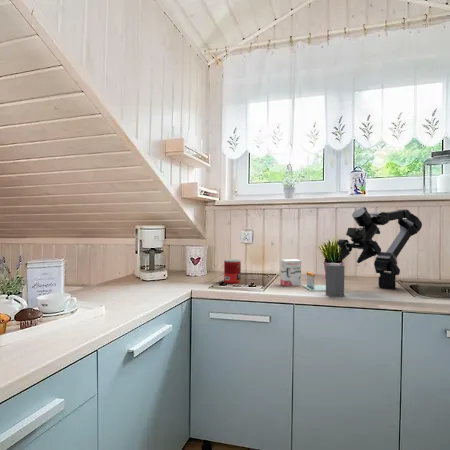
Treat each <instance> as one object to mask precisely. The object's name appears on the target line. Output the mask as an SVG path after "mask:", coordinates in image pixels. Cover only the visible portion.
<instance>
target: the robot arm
mask: <svg viewBox="0 0 450 450" xmlns="http://www.w3.org/2000/svg"><path fill="white" fill-rule="evenodd" d="M351 216H352V218H353V220H354V221H355V222H356V224H357V225H358V227H348V228H347V231H346V233H345V235H346V236H348V237H349V238H350V241H351V242H349V240H348V239H339V240H338V241H337V242H336V245H338V247H339V249H340V252H339V259H338V261H340V262H342V261H344V259H346V258H347V257H348V256H349V255H350V254H351V252H352V251H353V249H357V250H362V251H361V253H360V255H359V256H358V258H357V261H356V262H357V263H358V264H360V263H362V262H364V261H366V260H369V259H371V258H372V257H375V260H374V262H373V265H374V269H375V273H376V274H379V275H378V277H377V278H378V279H377V280H378V281H377V282H378V283H377V285H378V287H379V288H380V289H390V290H391V289H393V290H397V286H396V284H397V283H396V280H397V278H396V276H399V275H400V273H401V269H400V268H399V266H398V265H397V264H398V261H397V258H398V257H399V254H400V253H401V252H402V250H403V248H404V247H405V246H406V244H407V243H408V241H409V239H410V238H411V237H413V236H414V235H417V234H418V233H419V231H420V230H421V229H422V227H423V223H422V221H421V219H419V217H418V216H416V215H415V214H413V213H411V212H410V210H409V209H406V208H405V209H397V210H391V211H388V212H386V211H377V212H376V211H374V212H372V211H371V212H368V210H367V208H366V207H365V206H360V208H358V209H357V210H355V211H353V212H352V214H351ZM395 220H397V224H398V225H399V232H398V234H397V236H396V237H395V238H394V239H393V241H392V242H391V244H390V246H389V247H388V249H387V250H386V251H385V252H384V251H382V249H381V246H380V245H379V244H378V242H377V240H373V238H374V236H375V235H381V231H380V227H378V226H384V225H387V224H389V222H391V221H395Z"/></svg>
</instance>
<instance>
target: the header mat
mask: <svg viewBox="0 0 450 450" xmlns="http://www.w3.org/2000/svg"><path fill="white" fill-rule="evenodd" d="M301 287H303V288H304V289H306V290H307V291H310V292H326V284H314V289H311V288H309V287H307V284H301Z"/></svg>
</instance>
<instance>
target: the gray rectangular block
mask: <svg viewBox="0 0 450 450" xmlns="http://www.w3.org/2000/svg"><path fill="white" fill-rule="evenodd" d="M325 285H326V291H325V296H331V297H333V298H336V297H343V296H345V265H341V264H340V263H336V262H330V263H329V264H326V265H325Z"/></svg>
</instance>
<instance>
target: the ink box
mask: <svg viewBox="0 0 450 450" xmlns="http://www.w3.org/2000/svg"><path fill="white" fill-rule="evenodd" d="M280 285H281V286H283V287H298V286H300V287H302V260H300V259H296V258H295V259H281V260H280Z"/></svg>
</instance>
